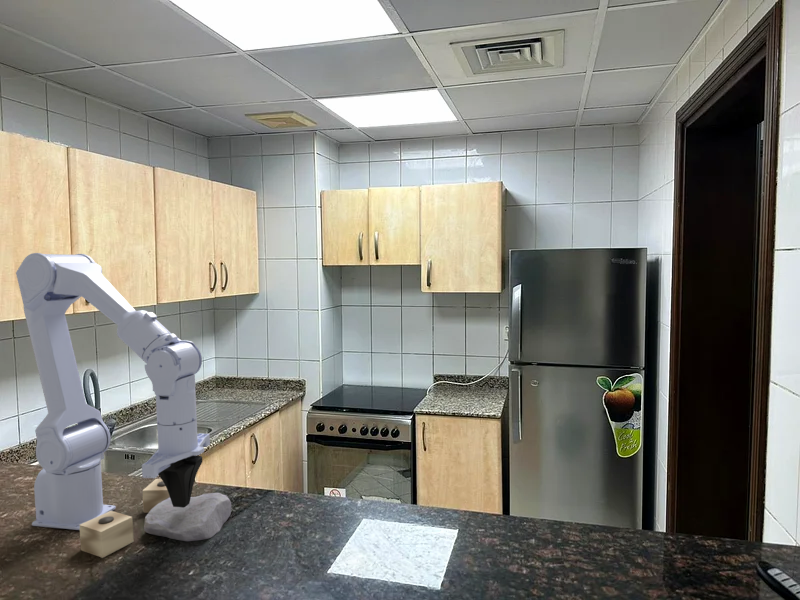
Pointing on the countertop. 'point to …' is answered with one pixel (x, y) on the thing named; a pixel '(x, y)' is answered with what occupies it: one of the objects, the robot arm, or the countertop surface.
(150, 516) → the stone block
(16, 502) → the countertop surface
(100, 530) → the beech block
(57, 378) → the robot arm
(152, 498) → the beech block
